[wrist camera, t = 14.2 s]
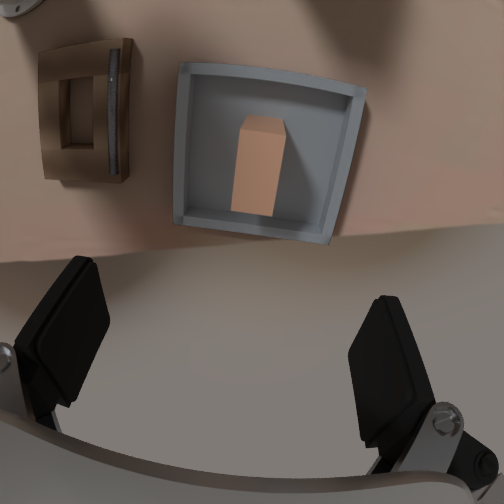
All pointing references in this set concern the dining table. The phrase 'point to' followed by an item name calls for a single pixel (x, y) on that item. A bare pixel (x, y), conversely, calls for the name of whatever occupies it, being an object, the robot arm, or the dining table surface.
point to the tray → (294, 156)
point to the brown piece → (104, 111)
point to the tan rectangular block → (258, 165)
